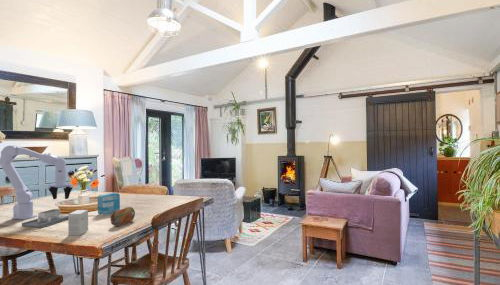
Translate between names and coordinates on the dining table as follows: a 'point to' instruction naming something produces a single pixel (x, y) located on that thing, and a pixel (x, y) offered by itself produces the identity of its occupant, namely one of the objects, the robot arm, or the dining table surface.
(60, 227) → the dining table surface
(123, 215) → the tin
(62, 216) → the pin tray
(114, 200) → the blue box
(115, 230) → the dining table surface
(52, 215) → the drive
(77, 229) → the small box
